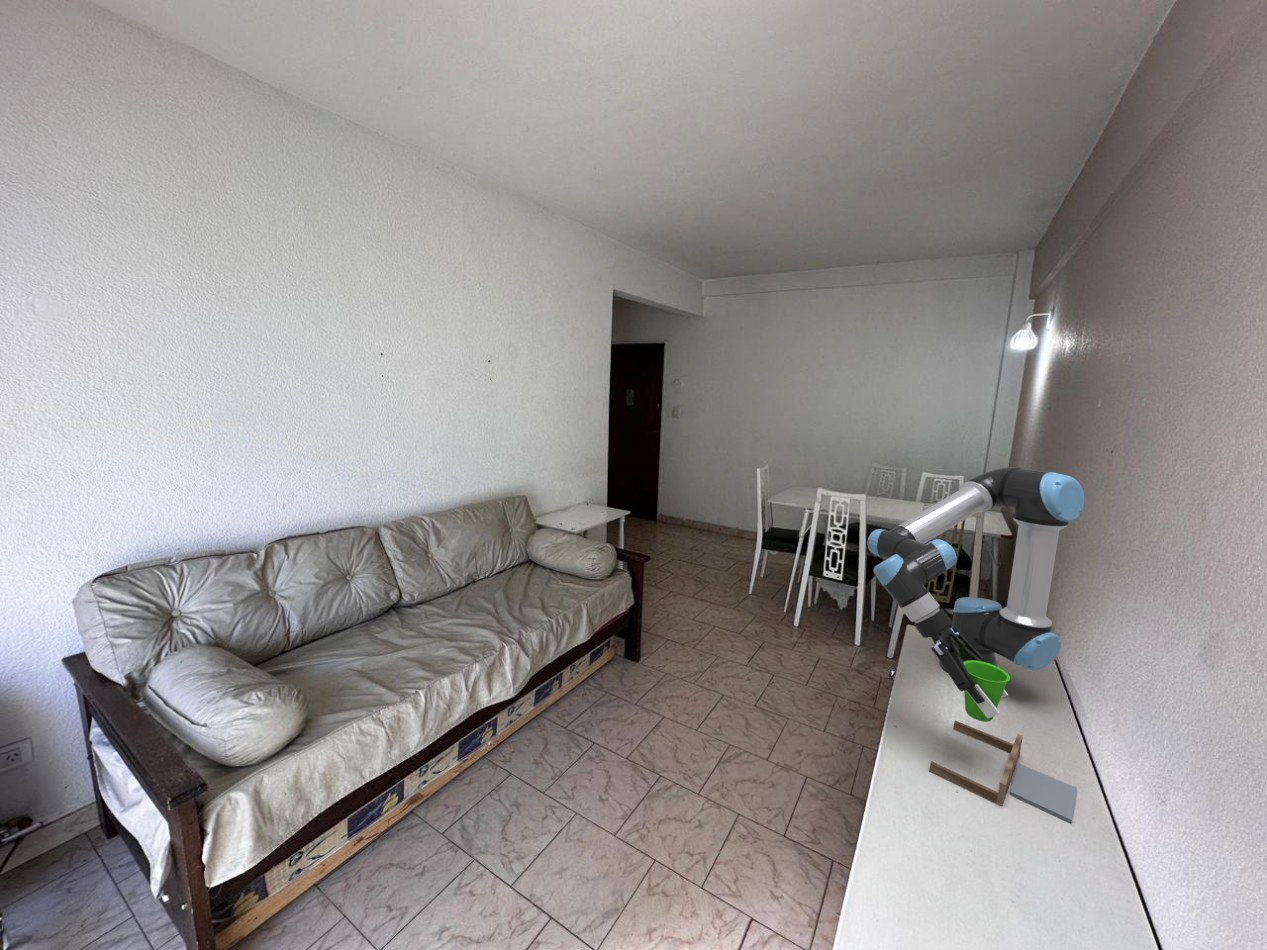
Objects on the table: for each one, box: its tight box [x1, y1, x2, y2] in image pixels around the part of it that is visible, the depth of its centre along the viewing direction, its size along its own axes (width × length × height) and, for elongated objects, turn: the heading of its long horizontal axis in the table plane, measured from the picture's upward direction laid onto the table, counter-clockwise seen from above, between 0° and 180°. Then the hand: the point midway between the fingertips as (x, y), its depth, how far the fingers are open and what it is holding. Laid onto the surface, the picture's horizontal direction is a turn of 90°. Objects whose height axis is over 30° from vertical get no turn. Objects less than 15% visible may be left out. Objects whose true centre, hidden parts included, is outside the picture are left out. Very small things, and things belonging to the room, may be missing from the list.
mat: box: [1009, 763, 1078, 824], centre depth 107 cm, size 12×10×1 cm
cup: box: [963, 660, 1011, 723], centre depth 114 cm, size 9×9×11 cm
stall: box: [929, 720, 1024, 807], centre depth 115 cm, size 22×14×5 cm, turn 135°
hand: (998, 705), depth 112 cm, fingers closed on cup, 9 cm apart
